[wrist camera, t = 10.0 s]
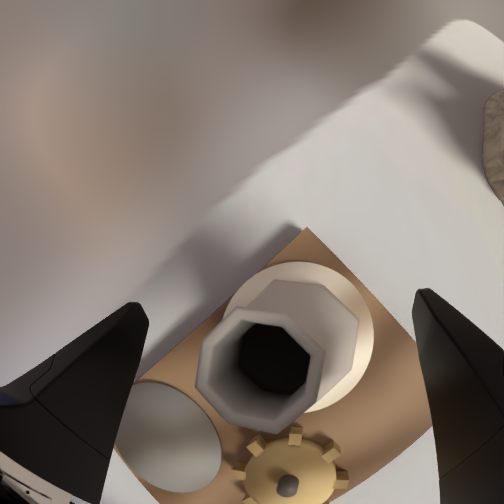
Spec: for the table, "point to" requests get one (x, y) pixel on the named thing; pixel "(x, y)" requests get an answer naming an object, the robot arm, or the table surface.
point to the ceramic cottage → (494, 143)
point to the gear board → (299, 431)
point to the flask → (277, 355)
